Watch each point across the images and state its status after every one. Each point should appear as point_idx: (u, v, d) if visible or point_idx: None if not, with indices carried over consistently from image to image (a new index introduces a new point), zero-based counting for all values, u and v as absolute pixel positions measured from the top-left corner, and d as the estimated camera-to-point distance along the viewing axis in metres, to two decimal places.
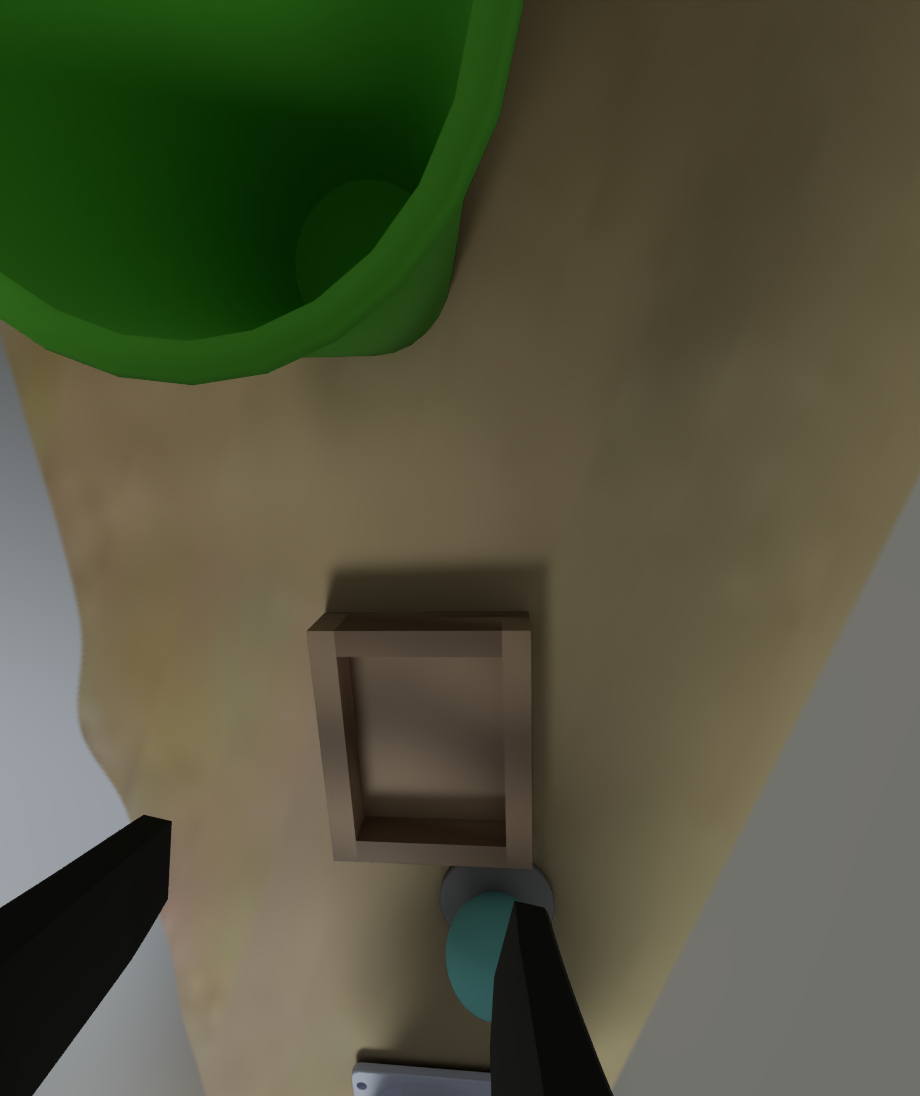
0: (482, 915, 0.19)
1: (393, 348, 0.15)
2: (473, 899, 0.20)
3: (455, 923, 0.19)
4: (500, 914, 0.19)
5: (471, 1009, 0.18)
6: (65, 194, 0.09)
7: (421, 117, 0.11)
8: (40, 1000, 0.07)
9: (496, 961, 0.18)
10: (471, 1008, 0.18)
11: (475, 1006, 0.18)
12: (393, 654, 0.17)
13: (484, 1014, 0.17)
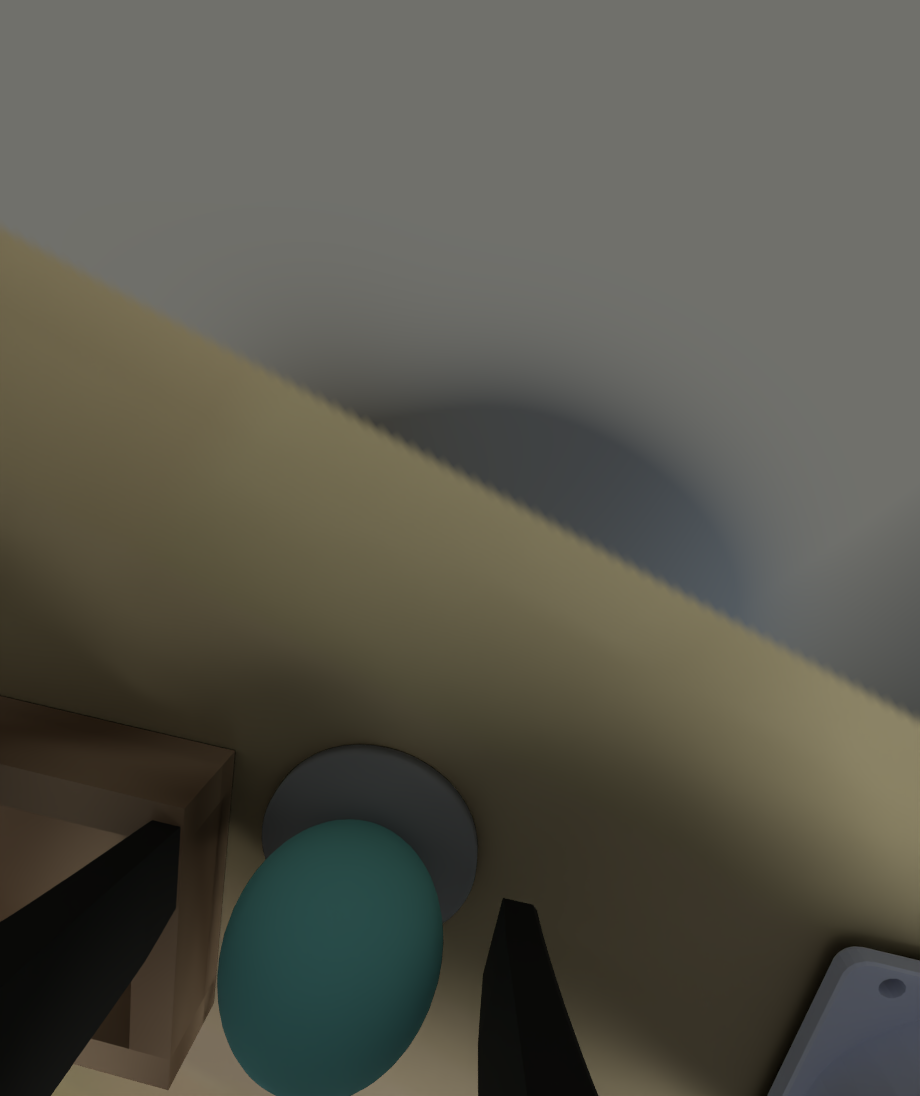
0: None
1: None
2: None
3: None
4: None
5: None
6: None
7: None
8: (56, 1004, 0.07)
9: (221, 1002, 0.08)
10: None
11: None
12: None
13: (308, 1095, 0.07)
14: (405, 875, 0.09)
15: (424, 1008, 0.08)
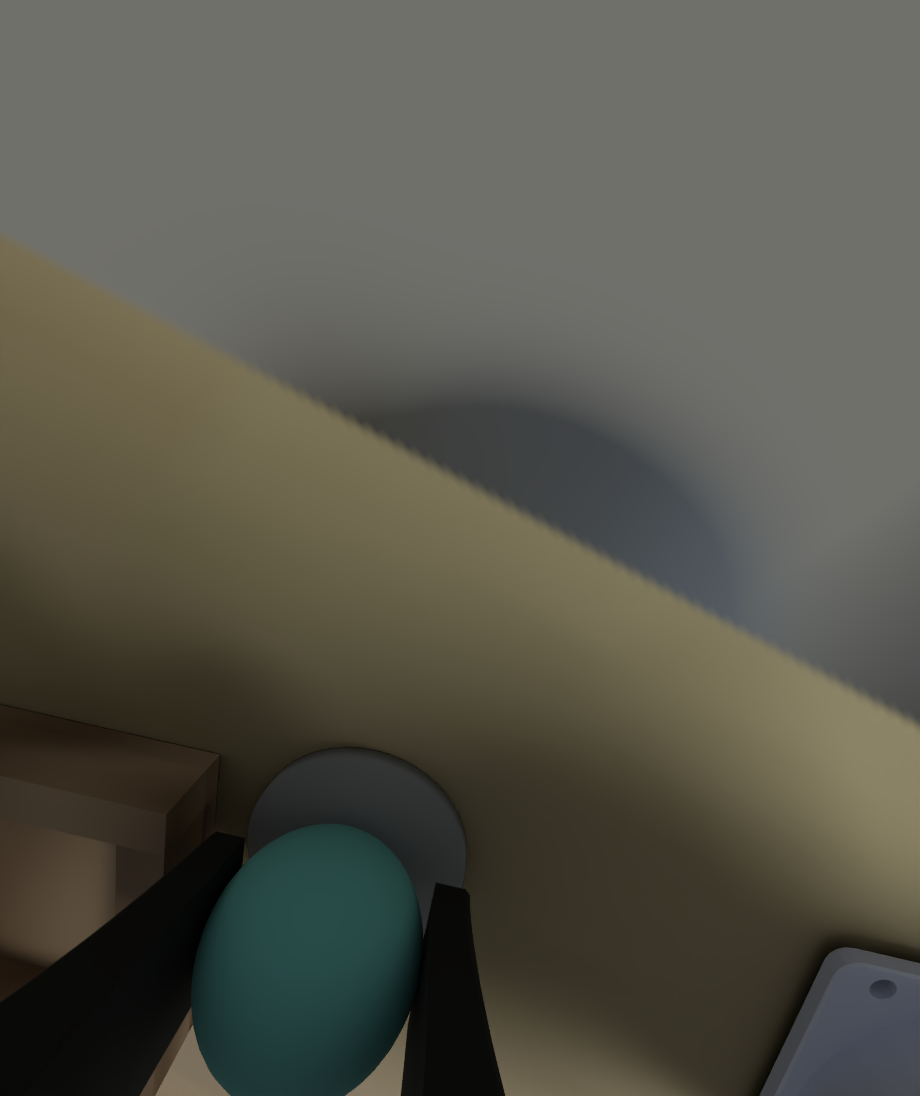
0: None
1: None
2: None
3: None
4: None
5: None
6: None
7: None
8: (137, 1024, 0.07)
9: (192, 1004, 0.08)
10: None
11: None
12: None
13: None
14: (383, 885, 0.09)
15: (397, 1024, 0.08)
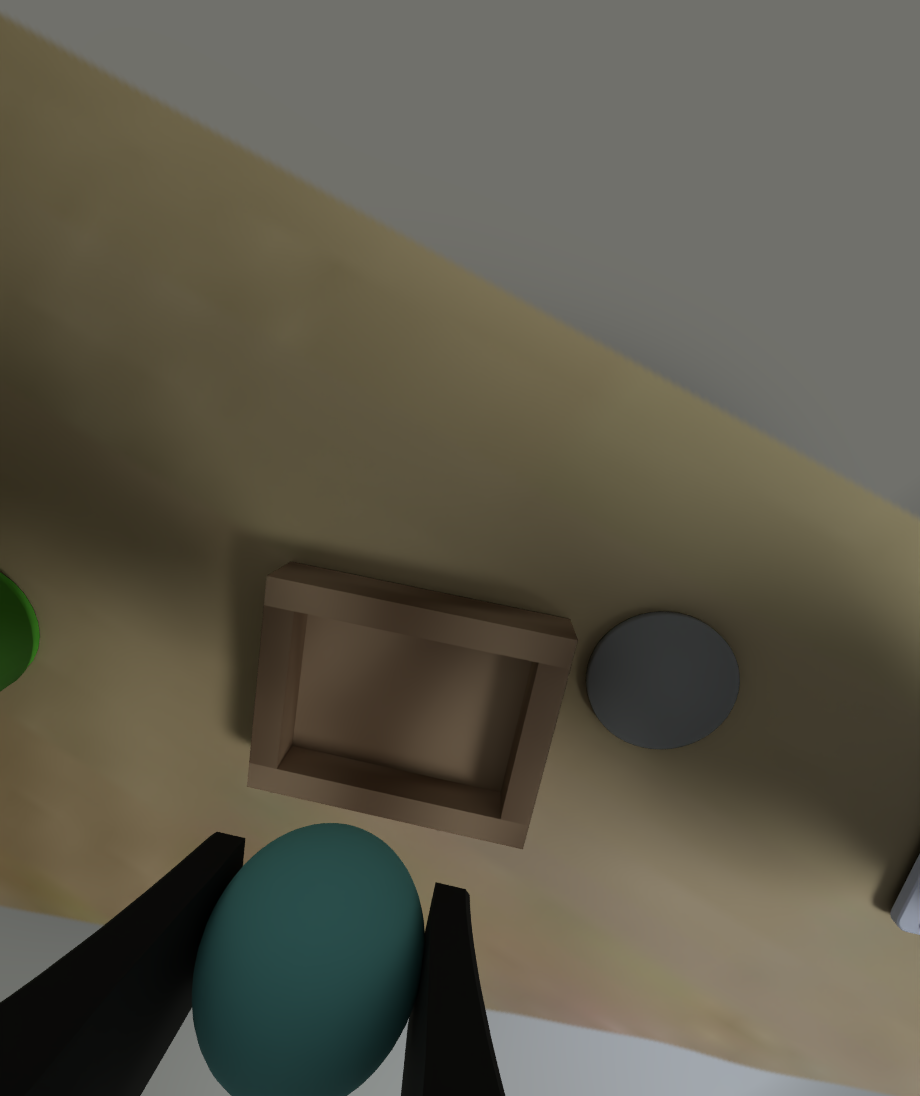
0: None
1: None
2: None
3: None
4: None
5: None
6: None
7: None
8: (137, 1024, 0.07)
9: (193, 1004, 0.08)
10: None
11: None
12: (279, 715, 0.16)
13: None
14: (385, 885, 0.09)
15: (398, 1025, 0.08)
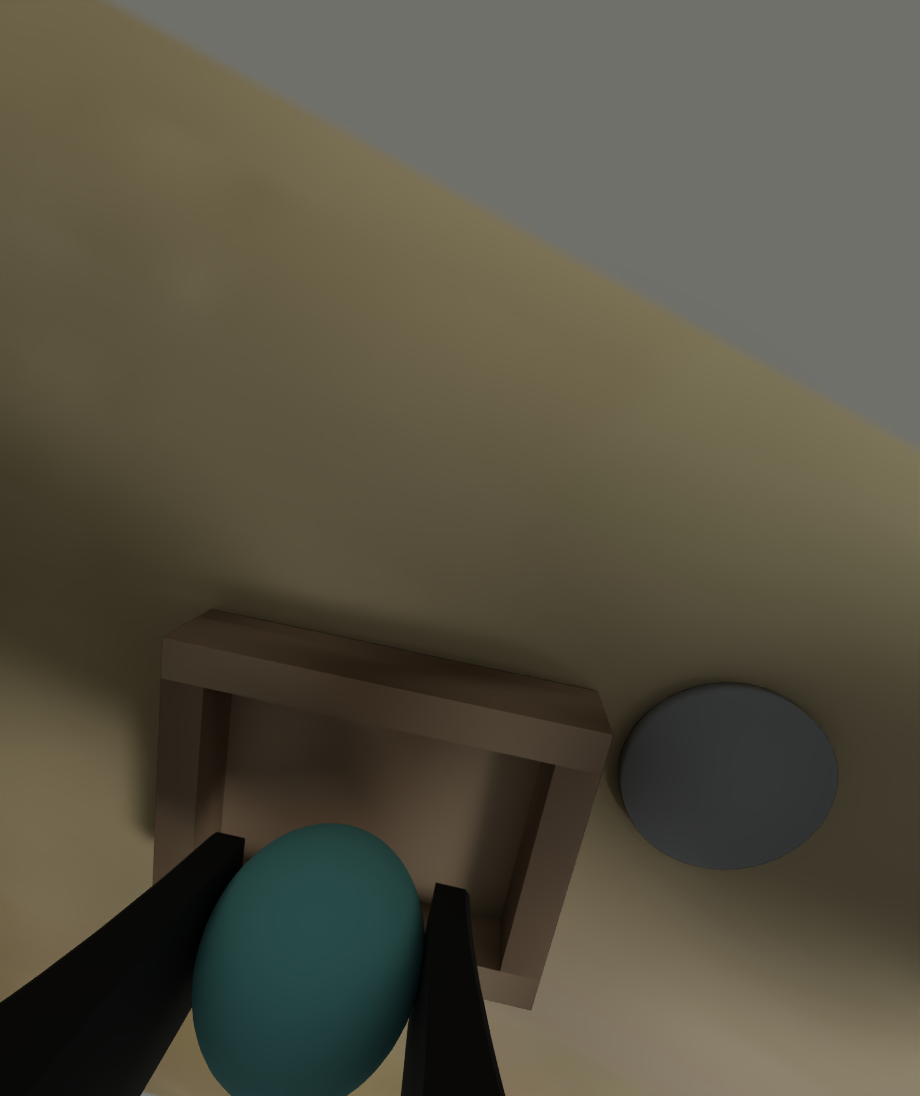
0: None
1: None
2: None
3: None
4: None
5: None
6: None
7: None
8: (137, 1024, 0.07)
9: (193, 1004, 0.08)
10: None
11: None
12: (189, 827, 0.12)
13: None
14: (385, 885, 0.09)
15: (398, 1025, 0.08)
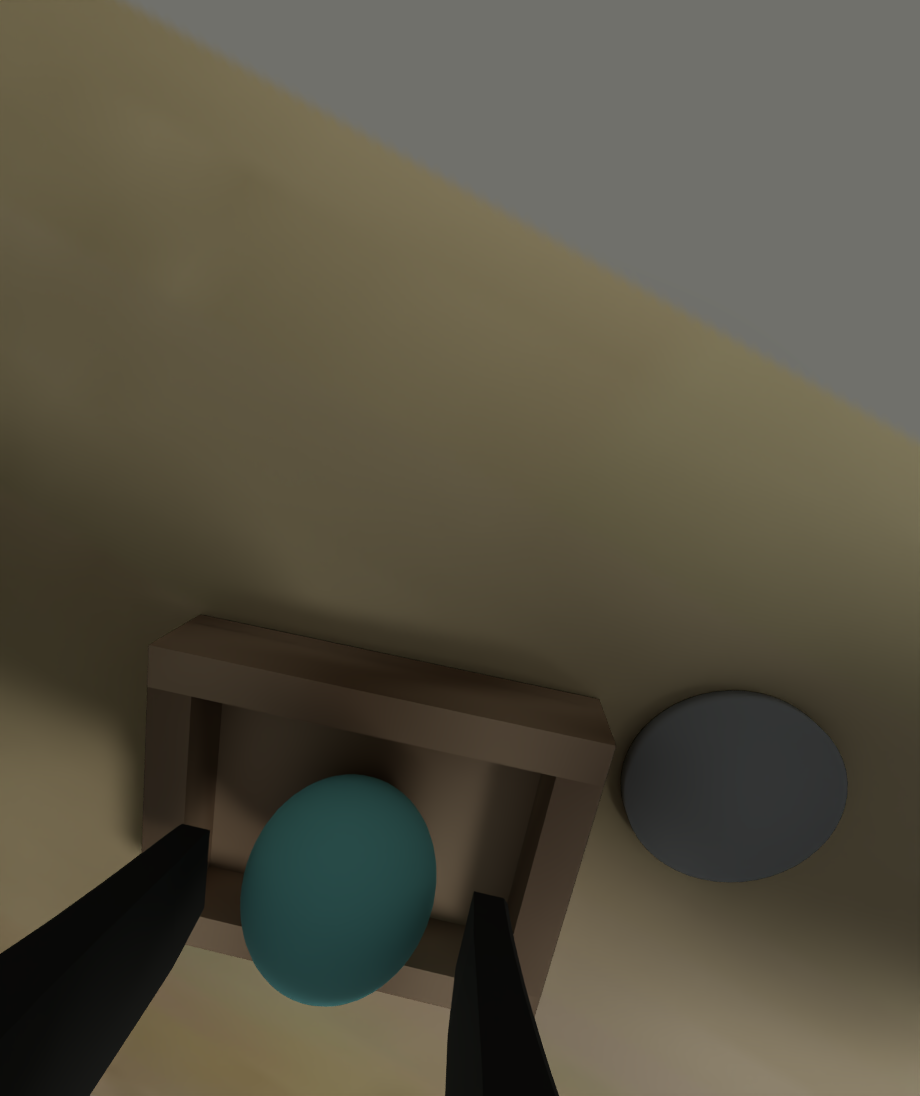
0: None
1: None
2: None
3: None
4: None
5: (318, 1005, 0.09)
6: None
7: None
8: (91, 1013, 0.07)
9: (243, 916, 0.09)
10: (316, 1004, 0.09)
11: (305, 998, 0.09)
12: None
13: (314, 995, 0.09)
14: (403, 821, 0.10)
15: (416, 934, 0.09)
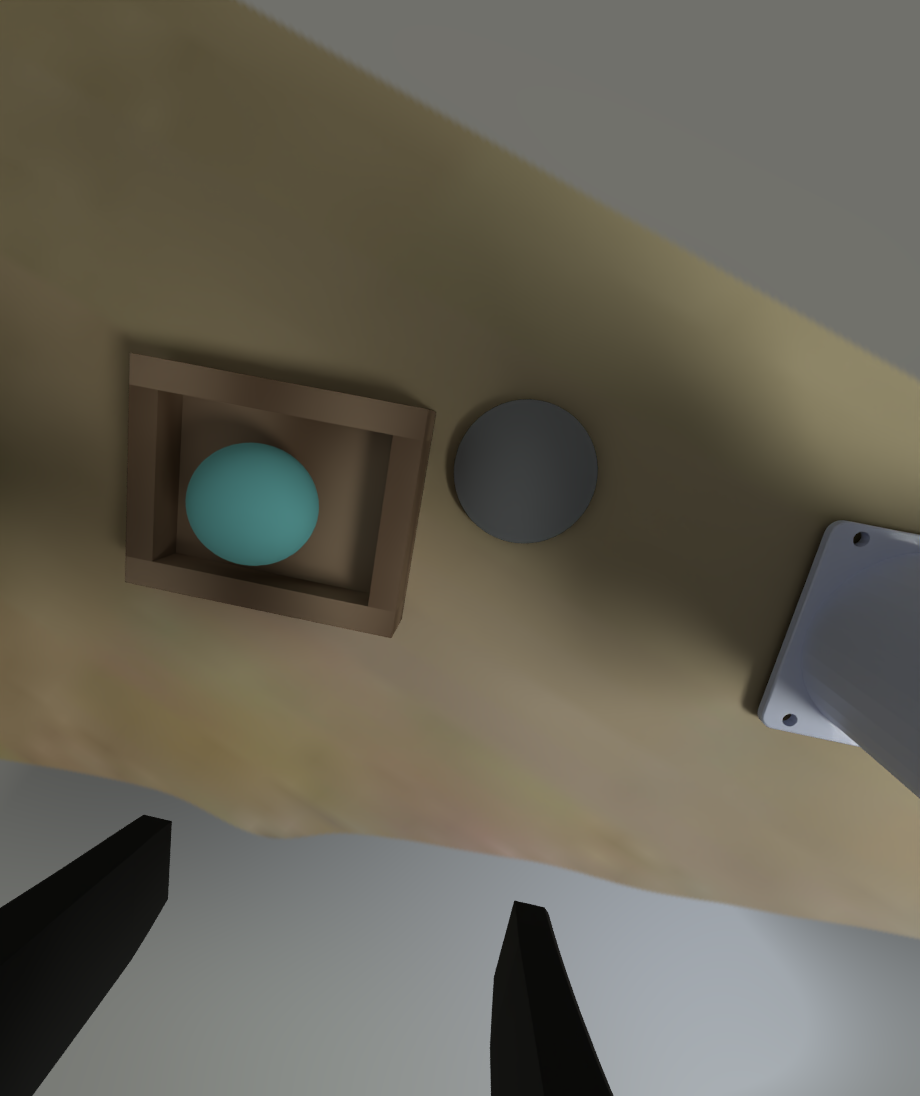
0: None
1: None
2: None
3: None
4: None
5: (230, 543, 0.14)
6: None
7: None
8: (40, 1000, 0.07)
9: (186, 498, 0.15)
10: (229, 543, 0.14)
11: (222, 537, 0.14)
12: (151, 503, 0.17)
13: (226, 528, 0.14)
14: (292, 459, 0.15)
15: (295, 514, 0.15)
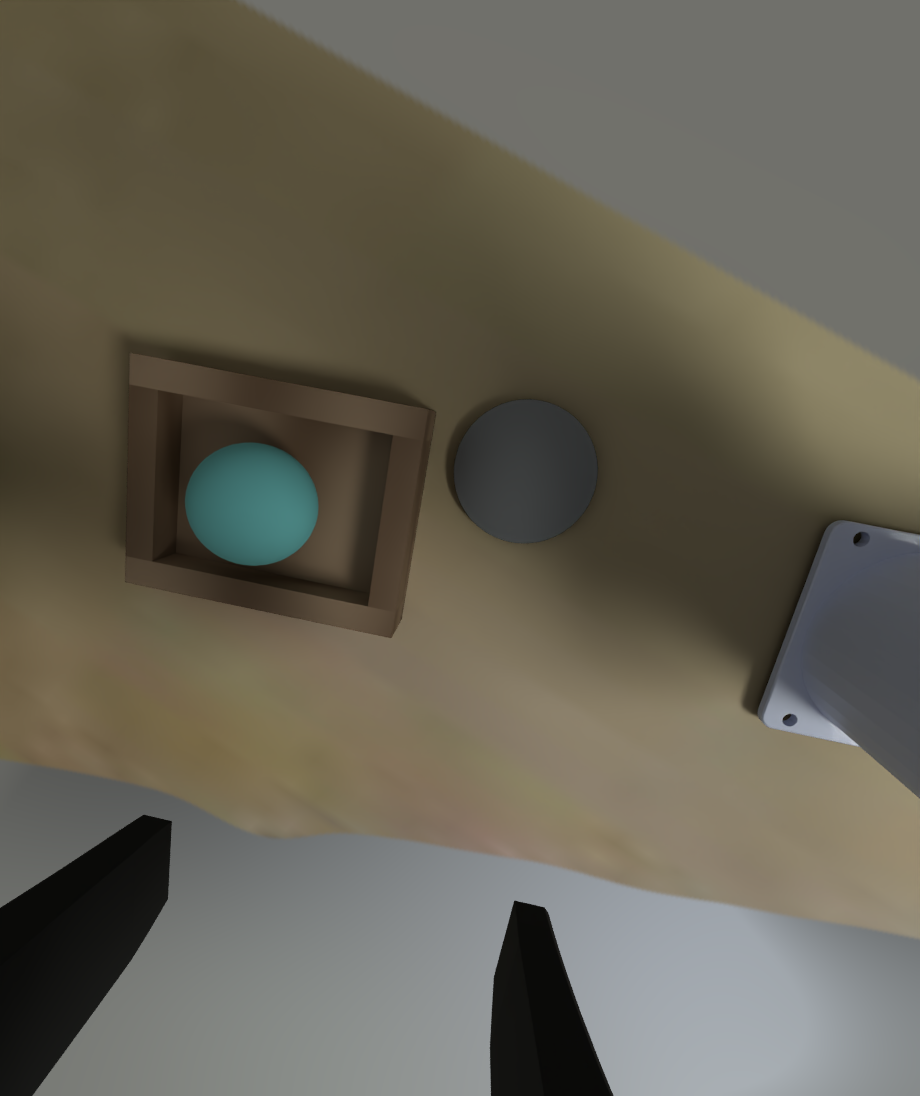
0: None
1: None
2: None
3: None
4: None
5: (229, 543, 0.14)
6: None
7: None
8: (40, 1000, 0.07)
9: (185, 498, 0.15)
10: (228, 543, 0.14)
11: (221, 537, 0.14)
12: (151, 503, 0.17)
13: (225, 528, 0.14)
14: (291, 459, 0.15)
15: (293, 514, 0.15)
